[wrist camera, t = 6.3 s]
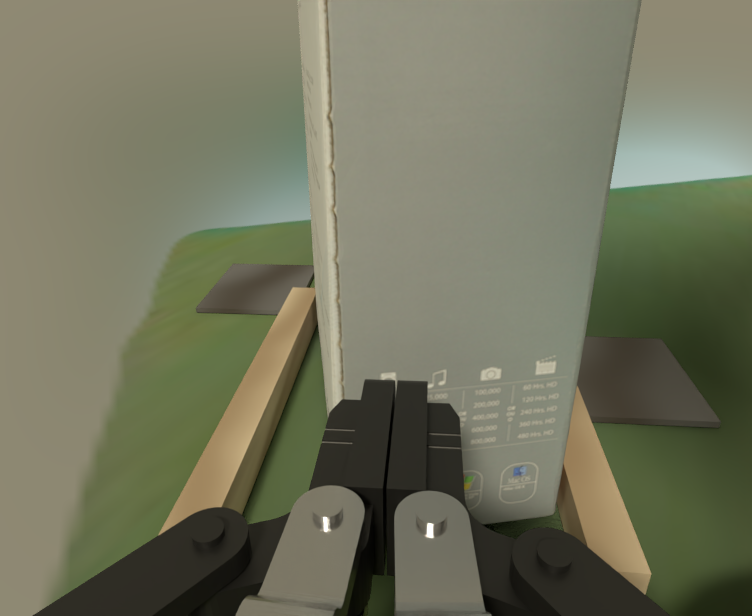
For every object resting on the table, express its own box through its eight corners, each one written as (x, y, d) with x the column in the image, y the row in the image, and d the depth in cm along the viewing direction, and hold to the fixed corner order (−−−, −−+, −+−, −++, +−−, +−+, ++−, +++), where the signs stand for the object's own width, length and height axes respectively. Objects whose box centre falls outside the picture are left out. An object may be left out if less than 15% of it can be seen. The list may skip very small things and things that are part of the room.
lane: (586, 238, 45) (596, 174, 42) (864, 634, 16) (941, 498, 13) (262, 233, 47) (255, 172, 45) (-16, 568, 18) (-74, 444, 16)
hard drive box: (563, 523, 19) (706, -261, 11) (339, 553, 18) (289, -283, 10) (446, 316, 33) (465, -98, 24) (314, 327, 32) (284, -101, 23)
